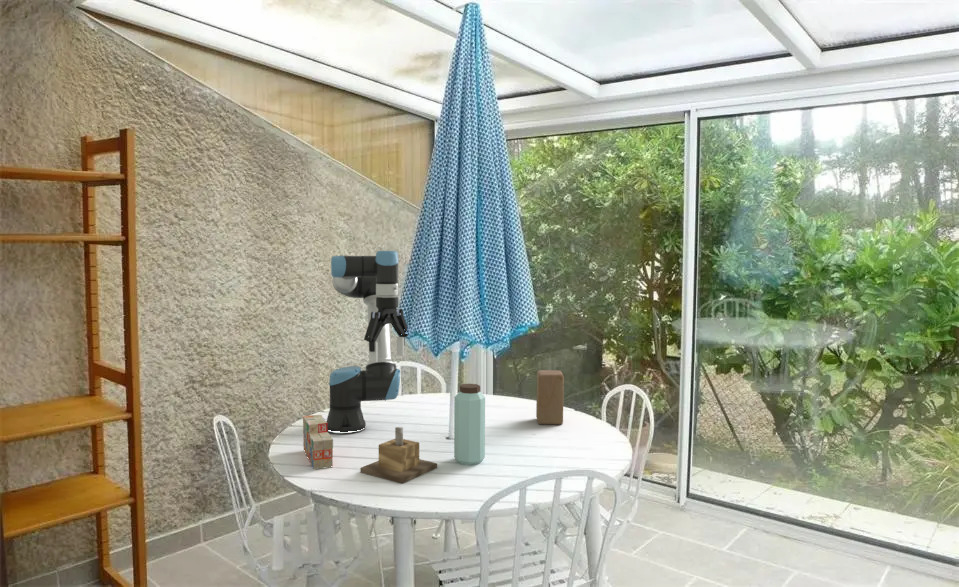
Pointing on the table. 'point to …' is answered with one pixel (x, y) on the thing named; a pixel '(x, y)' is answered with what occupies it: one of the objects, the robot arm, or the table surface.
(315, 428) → the stack of blocks
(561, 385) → the wooden block
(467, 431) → the water bottle
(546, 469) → the table surface
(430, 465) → the board
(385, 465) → the bead
